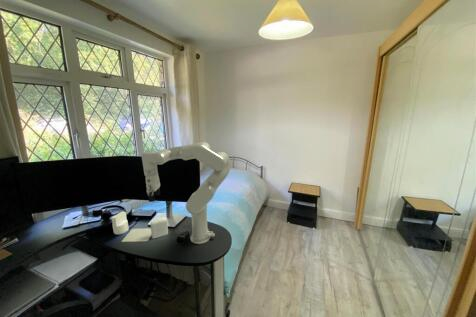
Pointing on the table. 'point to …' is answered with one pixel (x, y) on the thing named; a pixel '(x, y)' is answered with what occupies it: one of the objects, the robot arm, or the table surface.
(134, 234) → the felt mat
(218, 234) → the table surface
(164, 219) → the photo printer
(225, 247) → the table surface
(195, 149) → the robot arm
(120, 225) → the base with upright slab
